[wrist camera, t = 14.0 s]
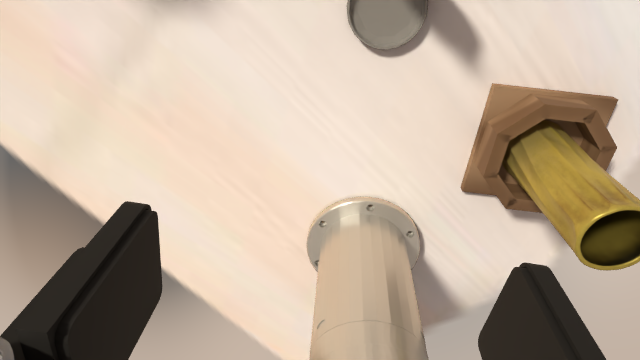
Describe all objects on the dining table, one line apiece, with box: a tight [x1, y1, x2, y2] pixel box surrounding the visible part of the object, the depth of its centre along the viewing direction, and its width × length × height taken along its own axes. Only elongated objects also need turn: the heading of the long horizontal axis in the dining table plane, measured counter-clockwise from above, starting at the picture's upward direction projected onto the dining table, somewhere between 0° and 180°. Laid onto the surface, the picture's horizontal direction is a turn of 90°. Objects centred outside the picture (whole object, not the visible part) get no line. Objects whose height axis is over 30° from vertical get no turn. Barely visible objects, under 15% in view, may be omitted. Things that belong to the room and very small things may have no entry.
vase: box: [502, 121, 640, 270], centre depth 33 cm, size 6×6×14 cm
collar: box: [461, 83, 618, 213], centre depth 38 cm, size 11×11×4 cm
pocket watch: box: [347, 0, 428, 49], centre depth 30 cm, size 8×8×10 cm
